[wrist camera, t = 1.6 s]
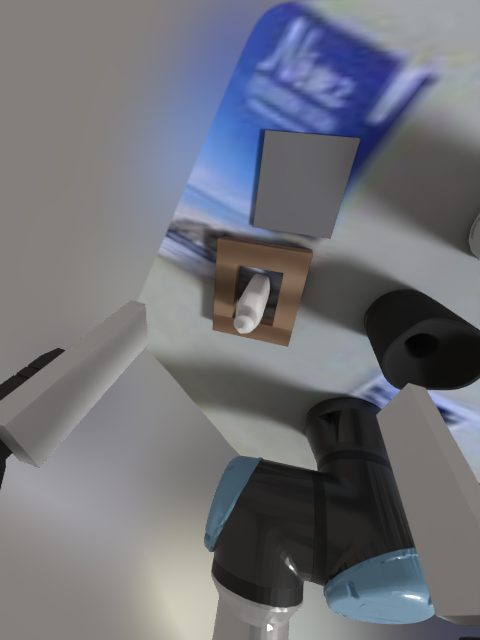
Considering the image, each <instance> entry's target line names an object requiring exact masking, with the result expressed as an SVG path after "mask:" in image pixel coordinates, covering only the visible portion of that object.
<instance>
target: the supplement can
mask: <svg viewBox="0 0 480 640" xmlns="http://www.w3.org/2000/svg"><path fill="white" fill-rule="evenodd" d="M468 241H469V245H470V248H471V252H472V253H473V254H474V255H475V256H476V257H477V258H478V259H479V260H480V213H479V215H478V216H477V218H476V220H475V221H474V223H473V225H472V226H471V230H470V235H469V240H468Z"/></svg>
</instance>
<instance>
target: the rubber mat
mask: <svg viewBox="0 0 480 640" xmlns="http://www.w3.org/2000/svg"><path fill="white" fill-rule="evenodd" d="M359 142H360V138H351V137H339V136H328V135H316V134H304V133H292V132H281V131H269V130H266V131H265V138H264V146H263V154H262V162H261V169H260V177H259V185H258V193H257V201H256V208H255V216H254V224H253V227H256V228H263V229H269V230H276V231H283V232H289V233H296V234H303V235H309V236H316V237H323V238H329V239H331V235H332V232H333V229H334V225H335V222H336V219H337V215H338V212H339V209H340V205H341V202H342V199H343V195H344V192H345V189H346V185H347V182H348V179H349V175H350V172H351V169H352V165H353V162H354V159H355V155H356V152H357V149H358V145H359Z"/></svg>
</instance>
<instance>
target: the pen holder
mask: <svg viewBox="0 0 480 640" xmlns="http://www.w3.org/2000/svg"><path fill="white" fill-rule="evenodd" d="M364 325H365V329H366V332H367V335H368V338H369V340H370V343H371V345H372V348H373V350H374V353H375V355H376V358H377V360H378V363H379V365H380V368H381V370H382V373H383V375H384V377H385V378H386V380H387V381H388V382H389V383H390V384H391V385H393V386H394V387H396V388H398V389H400V390H402V389H403V388H404V387H405V386H406V385H407V384H408V383H411V384H414V385H417V386H421V387H424V388H426V390H455V389H460V388H463V387H466V386H468V385H470V384H472V383H474V382H475V381H477V380H478V379H479V378H480V330H479V329H477V328H476V327H474V326H473V325H471V324H470V323H468V322H467V321H465V320H464V319H462V318H461V317H459V316H458V315H456V314H455V313H453V312H452V311H451V310H449V309H448V308H446V307H445V306H443V305H442V304H440V303H439V302H437V301H435V300H434V299H432V298H431V297H429V296H427V295H425V294H424V293H421V292H418V291H414V290H399V291H394V292H391V293H388V294H386V295H384V296H382V297H380V298H379V299H377V300H376V301H375V302H374V303H373V304H372V305H371V306H370V307H369V309H368V311H367V312H366V315H365V319H364Z"/></svg>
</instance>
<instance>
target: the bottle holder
mask: <svg viewBox="0 0 480 640" xmlns="http://www.w3.org/2000/svg"><path fill="white" fill-rule="evenodd" d="M312 256H313V252H312V250H309V249H303V248H297V247H290V246H284V245H278V244H272V243H265V242H259V241H253V240H246V239H240V238H234V237H228V236H222V237H220V238H218V240H217V259H216V277H215V295H214V313H213V330H216V331H220V332H225V333H229V334H234V335H238V336H243V337H247V338H251V339H256V340H260V341H265V342H269V343H274V344H278V345H283V346H287V347H288V344H289V341H290V337H291V333H292V330H293V326H294V322H295V319H296V315H297V311H298V307H299V304H300V300H301V296H302V293H303V289H304V285H305V281H306V278H307V274H308V270H309V267H310V263H311V259H312ZM241 266H247V267H252V268H258V269H264V270H269V271H275V272H281V273H284V275H283V279H282V284H281V289H280V293H279V298H278V303H277V307H276V312H275V317H274V319H273V318H268V317H263V316H262V318H261V320H260V322H259V324H258V325H257V326H256V328H255V329H253V330H252V331H251V332H249V333H242V334H240V333H239V332H238V331H237V330H236V328H235V327H234V319H235V317H236V304H237V295H238V286H239V277H240V268H241Z"/></svg>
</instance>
